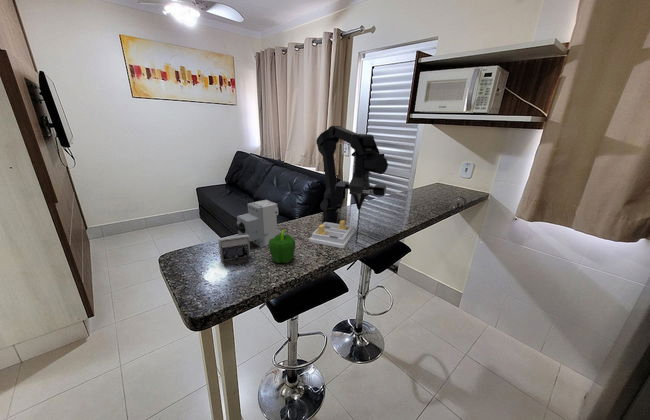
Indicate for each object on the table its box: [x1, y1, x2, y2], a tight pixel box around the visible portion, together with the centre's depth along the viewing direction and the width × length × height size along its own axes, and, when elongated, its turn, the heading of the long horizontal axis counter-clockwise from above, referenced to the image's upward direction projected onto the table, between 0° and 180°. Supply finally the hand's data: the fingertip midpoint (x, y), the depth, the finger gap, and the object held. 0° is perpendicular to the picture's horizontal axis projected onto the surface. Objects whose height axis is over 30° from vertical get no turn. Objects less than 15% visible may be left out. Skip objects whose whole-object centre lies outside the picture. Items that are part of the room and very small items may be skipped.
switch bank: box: [308, 222, 356, 249], centre depth 101 cm, size 14×16×3 cm
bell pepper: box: [268, 229, 296, 264], centre depth 82 cm, size 8×8×10 cm
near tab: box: [317, 223, 326, 235], centre depth 98 cm, size 3×3×4 cm
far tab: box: [338, 219, 348, 230], centre depth 103 cm, size 3×3×4 cm
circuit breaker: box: [235, 199, 280, 248], centre depth 92 cm, size 8×14×15 cm, turn 135°
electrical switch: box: [217, 235, 251, 266], centre depth 80 cm, size 9×5×9 cm, turn 113°
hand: (358, 209), depth 98 cm, fingers closed
